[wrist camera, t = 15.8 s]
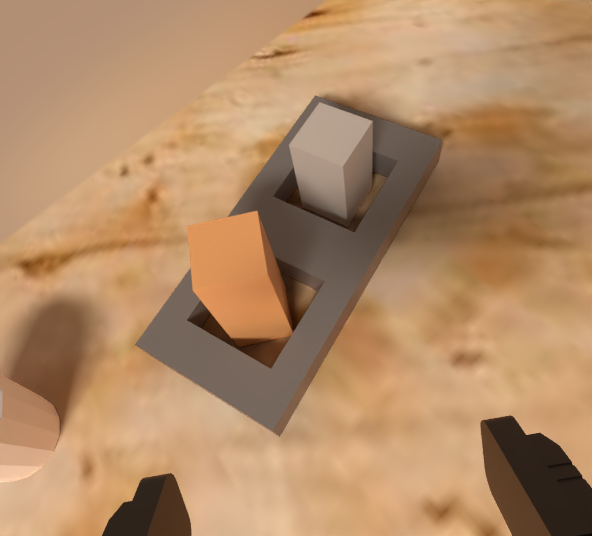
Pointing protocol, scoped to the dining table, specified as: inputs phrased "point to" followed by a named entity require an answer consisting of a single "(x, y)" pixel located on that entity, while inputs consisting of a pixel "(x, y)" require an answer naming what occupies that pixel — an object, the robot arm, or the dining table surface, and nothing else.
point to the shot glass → (25, 431)
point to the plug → (239, 278)
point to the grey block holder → (304, 253)
